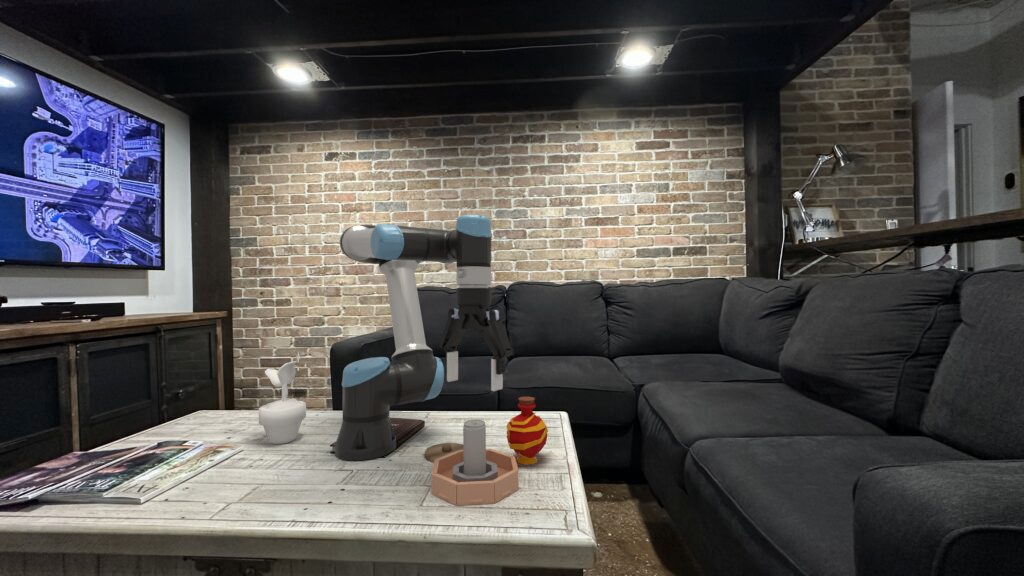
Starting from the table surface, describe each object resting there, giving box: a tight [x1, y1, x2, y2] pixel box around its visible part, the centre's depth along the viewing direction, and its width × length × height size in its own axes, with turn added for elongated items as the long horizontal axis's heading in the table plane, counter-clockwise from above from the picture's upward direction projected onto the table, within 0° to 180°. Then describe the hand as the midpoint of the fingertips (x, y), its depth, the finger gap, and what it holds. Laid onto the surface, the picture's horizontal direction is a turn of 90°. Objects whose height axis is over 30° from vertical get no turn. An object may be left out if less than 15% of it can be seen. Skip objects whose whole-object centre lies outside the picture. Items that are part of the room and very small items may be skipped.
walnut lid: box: [424, 442, 463, 464], centre depth 105 cm, size 11×11×3 cm
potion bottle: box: [506, 396, 549, 466], centre depth 102 cm, size 10×10×15 cm
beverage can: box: [462, 419, 487, 476], centre depth 89 cm, size 5×5×12 cm
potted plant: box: [258, 350, 308, 445], centre depth 116 cm, size 13×12×25 cm
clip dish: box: [431, 448, 519, 506], centre depth 89 cm, size 18×18×4 cm
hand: (473, 385), depth 90 cm, fingers open, 13 cm apart
